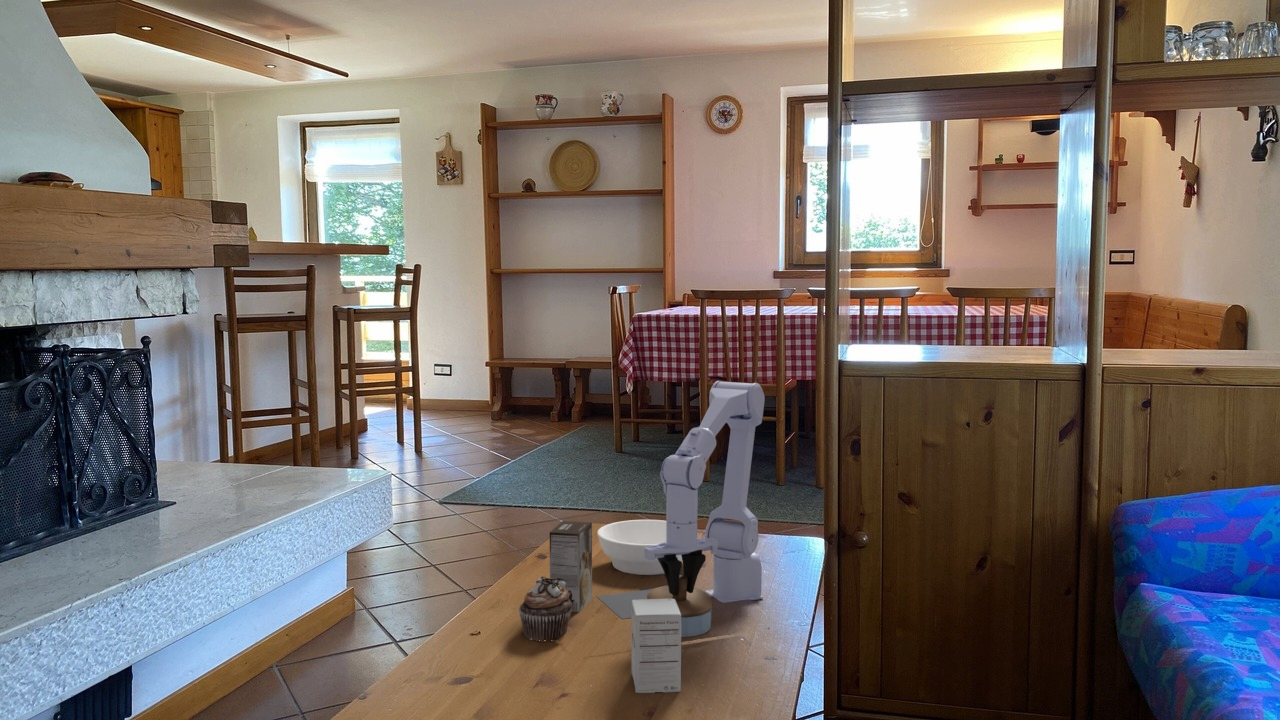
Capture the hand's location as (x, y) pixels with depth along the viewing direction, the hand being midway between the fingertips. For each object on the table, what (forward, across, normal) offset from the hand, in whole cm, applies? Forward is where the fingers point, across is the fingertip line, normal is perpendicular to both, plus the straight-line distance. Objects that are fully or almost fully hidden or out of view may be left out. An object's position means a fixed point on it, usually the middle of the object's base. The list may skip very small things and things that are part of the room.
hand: (681, 592), depth 167 cm
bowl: (+7, -12, -36) cm, 39 cm away
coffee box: (+7, +13, -20) cm, 25 cm away
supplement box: (+7, +16, +19) cm, 25 cm away
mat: (+7, +1, -14) cm, 16 cm away
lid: (+2, 0, -1) cm, 2 cm away
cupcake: (+7, +23, -9) cm, 26 cm away
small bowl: (+7, 0, 0) cm, 7 cm away
